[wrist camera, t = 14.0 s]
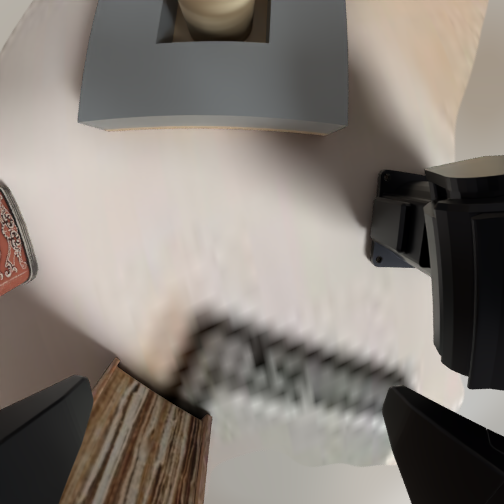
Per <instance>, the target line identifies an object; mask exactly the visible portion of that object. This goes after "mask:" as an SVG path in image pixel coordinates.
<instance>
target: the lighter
mask: <svg viewBox="0 0 504 504" xmlns="http://www.w3.org/2000/svg"><path fill="white" fill-rule="evenodd" d="M37 272H38V265H37V261H36V257H35V253H34V250H33V246H32V243H31V240H30V237H29V233H28V230H27V227H26V224H25V222H24V219H23V217H22V215H21V212H20V210H19V207H18V205H17V203H16V201H15V199H14V197H13V195H12V193H11V191H10V189H9V188H8V187H6V186H0V296H2V295H3V294H5V293H7V292H8V291H10V290H12V289H13V288H15V287H17V286H19V285H20V284H22V285H23V284H26V283H28V282H30V281H32V280H33V279H34V278H35V277H36V275H37Z"/></svg>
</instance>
